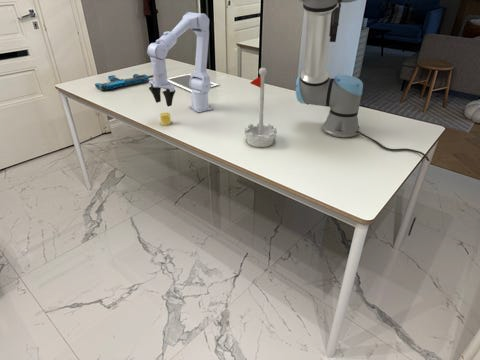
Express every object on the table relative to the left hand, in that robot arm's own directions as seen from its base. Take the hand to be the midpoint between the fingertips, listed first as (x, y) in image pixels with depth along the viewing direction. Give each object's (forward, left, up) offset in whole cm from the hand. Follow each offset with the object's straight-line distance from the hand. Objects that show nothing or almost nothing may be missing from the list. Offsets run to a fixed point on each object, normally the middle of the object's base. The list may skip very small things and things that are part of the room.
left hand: (163, 103), depth 152 cm
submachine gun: (-72, +3, -9) cm, 73 cm away
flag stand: (+39, +26, -9) cm, 47 cm away
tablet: (-49, +37, -9) cm, 62 cm away
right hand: (+18, +83, +21) cm, 88 cm away
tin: (0, 0, -9) cm, 9 cm away
